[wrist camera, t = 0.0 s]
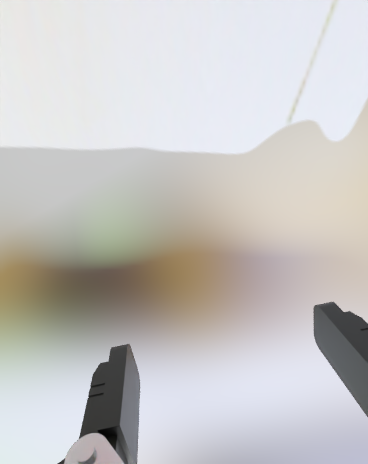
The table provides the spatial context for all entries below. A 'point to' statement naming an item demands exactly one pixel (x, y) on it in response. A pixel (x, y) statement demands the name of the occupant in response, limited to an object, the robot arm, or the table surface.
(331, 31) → the table surface
